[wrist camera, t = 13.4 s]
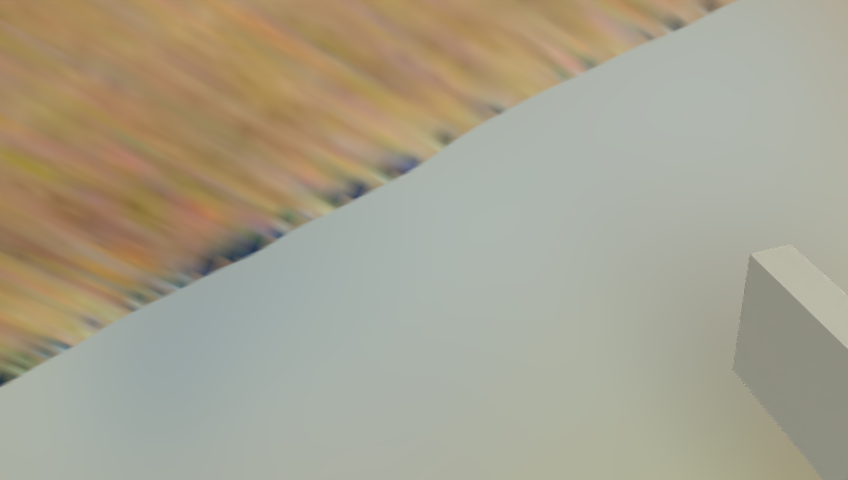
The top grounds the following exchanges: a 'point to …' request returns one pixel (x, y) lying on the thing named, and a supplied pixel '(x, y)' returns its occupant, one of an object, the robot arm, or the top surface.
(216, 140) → the top surface
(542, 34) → the top surface
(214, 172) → the top surface
